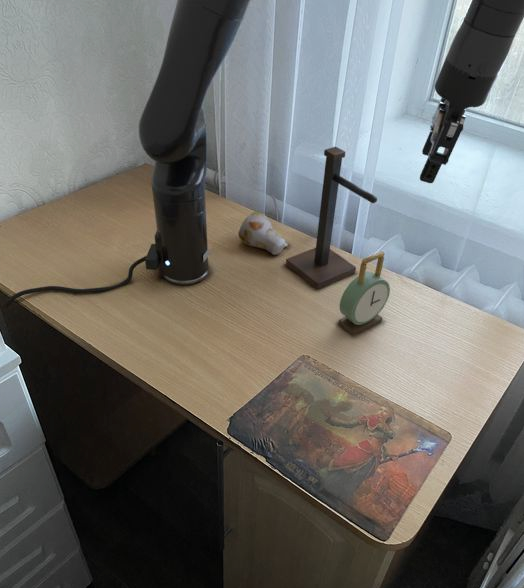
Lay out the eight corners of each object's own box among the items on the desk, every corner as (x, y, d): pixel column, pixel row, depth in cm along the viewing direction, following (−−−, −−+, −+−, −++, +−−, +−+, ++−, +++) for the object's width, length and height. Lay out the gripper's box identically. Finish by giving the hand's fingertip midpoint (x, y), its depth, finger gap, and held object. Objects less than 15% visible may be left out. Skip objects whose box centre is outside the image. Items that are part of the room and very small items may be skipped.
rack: (376, 288, 104) (402, 167, 88) (338, 306, 100) (358, 182, 83) (323, 250, 114) (337, 134, 97) (285, 265, 109) (294, 146, 92)
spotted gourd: (276, 265, 109) (253, 223, 104) (248, 263, 117) (225, 225, 112) (299, 243, 112) (277, 202, 107) (270, 243, 120) (249, 205, 115)
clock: (349, 338, 93) (361, 270, 84) (333, 325, 96) (344, 258, 86) (385, 319, 97) (402, 253, 88) (370, 308, 100) (384, 242, 90)
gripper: (447, 37, 78) (406, 141, 90) (446, 73, 69) (401, 183, 81) (497, 51, 78) (449, 153, 90) (503, 89, 69) (449, 197, 81)
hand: (426, 167), depth 86 cm, fingers open, 8 cm apart
